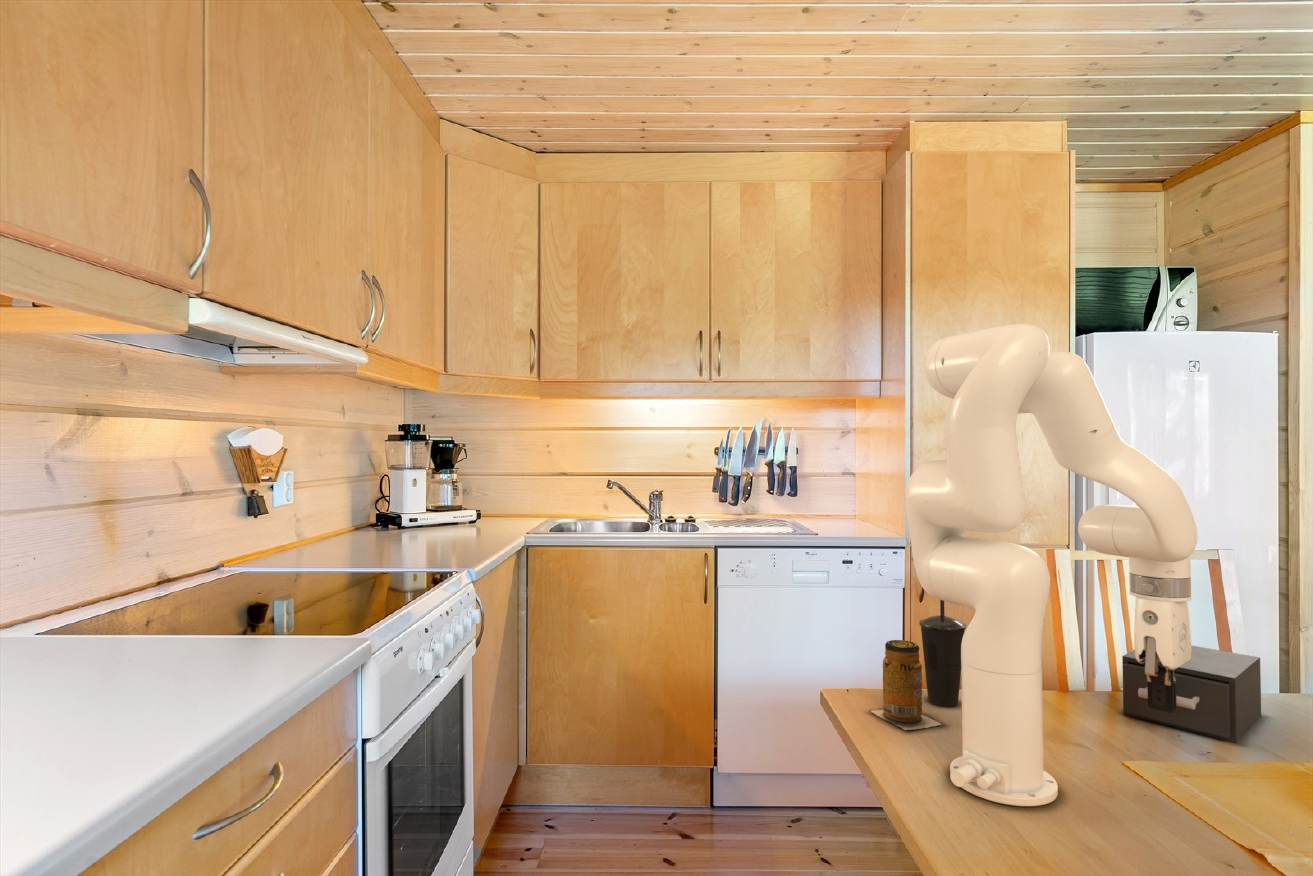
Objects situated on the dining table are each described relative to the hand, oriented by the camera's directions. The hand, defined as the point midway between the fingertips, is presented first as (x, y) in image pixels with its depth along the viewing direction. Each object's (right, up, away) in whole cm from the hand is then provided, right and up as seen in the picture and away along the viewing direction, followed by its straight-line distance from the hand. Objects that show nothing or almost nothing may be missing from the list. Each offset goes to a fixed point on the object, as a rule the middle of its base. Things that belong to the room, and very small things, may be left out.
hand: (1162, 709), depth 103 cm
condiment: (-36, -5, +8) cm, 37 cm away
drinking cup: (-26, -5, +16) cm, 31 cm away
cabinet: (+12, -5, +10) cm, 16 cm away
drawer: (+9, -4, +7) cm, 12 cm away
